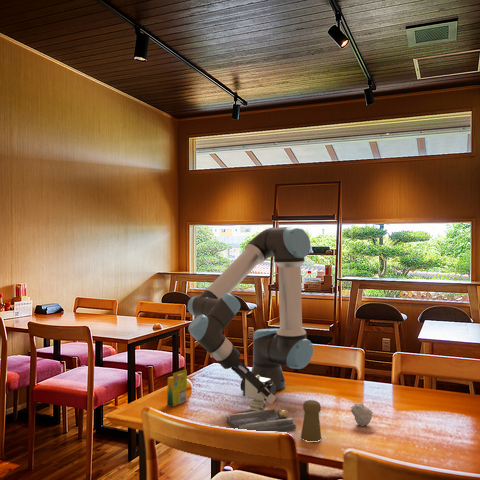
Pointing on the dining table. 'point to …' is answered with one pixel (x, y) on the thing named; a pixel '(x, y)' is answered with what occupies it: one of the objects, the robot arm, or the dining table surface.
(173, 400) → the crayon box
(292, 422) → the grey tray
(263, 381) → the pneumatic valve
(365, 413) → the gray rock
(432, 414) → the dining table surface
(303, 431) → the olive pepper shaker
